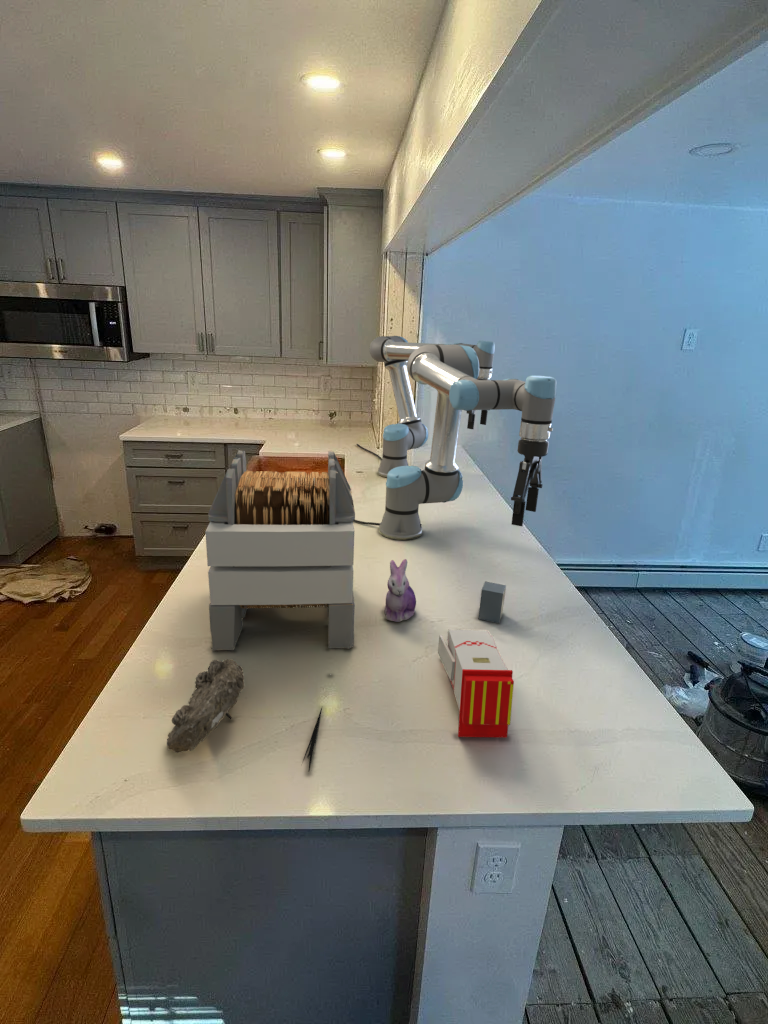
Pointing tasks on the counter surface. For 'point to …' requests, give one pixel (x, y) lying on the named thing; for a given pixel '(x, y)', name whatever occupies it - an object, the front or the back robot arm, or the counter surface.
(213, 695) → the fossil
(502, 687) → the toy
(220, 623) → the transformer
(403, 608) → the figurine
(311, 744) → the feather
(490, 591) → the brick
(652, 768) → the counter surface
